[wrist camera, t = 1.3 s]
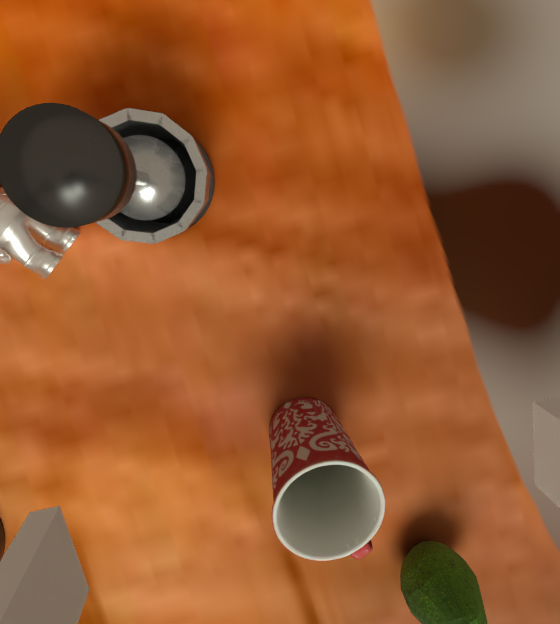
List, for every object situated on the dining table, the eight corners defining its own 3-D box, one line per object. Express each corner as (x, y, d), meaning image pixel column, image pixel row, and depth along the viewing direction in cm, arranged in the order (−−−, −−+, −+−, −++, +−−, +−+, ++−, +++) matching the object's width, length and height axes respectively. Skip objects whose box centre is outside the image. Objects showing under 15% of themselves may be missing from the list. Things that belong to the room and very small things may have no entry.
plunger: (101, 214, 32) (-29, 241, 16) (104, 130, 31) (-35, 61, 14) (182, 224, 33) (140, 259, 17) (188, 142, 32) (149, 91, 15)
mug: (243, 414, 48) (250, 499, 35) (320, 372, 47) (356, 441, 35) (299, 503, 51) (324, 609, 38) (371, 464, 51) (421, 558, 38)
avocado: (448, 516, 54) (509, 605, 43) (455, 569, 56) (515, 667, 45) (383, 534, 54) (426, 629, 42) (392, 587, 56) (436, 690, 44)
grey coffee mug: (85, 224, 41) (39, 236, 31) (87, 114, 39) (40, 88, 29) (209, 239, 43) (204, 254, 33) (219, 134, 41) (217, 115, 30)
